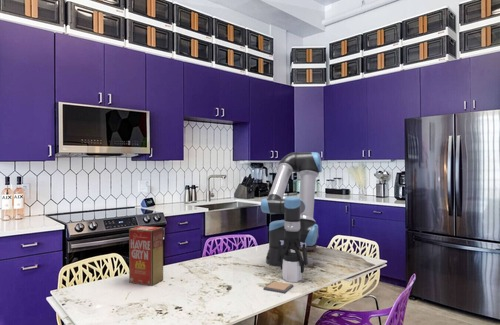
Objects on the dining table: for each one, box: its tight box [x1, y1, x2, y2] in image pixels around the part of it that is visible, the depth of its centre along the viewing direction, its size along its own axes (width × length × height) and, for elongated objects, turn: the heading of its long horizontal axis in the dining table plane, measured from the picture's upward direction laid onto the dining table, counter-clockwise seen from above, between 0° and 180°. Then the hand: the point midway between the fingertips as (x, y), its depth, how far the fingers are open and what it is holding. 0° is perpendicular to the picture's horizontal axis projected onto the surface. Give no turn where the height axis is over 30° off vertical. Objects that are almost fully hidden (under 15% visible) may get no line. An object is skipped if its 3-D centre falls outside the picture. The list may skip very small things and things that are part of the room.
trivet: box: [263, 281, 294, 294], centre depth 158 cm, size 10×10×1 cm
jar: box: [282, 251, 303, 283], centre depth 170 cm, size 9×8×12 cm
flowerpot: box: [299, 233, 319, 253], centre depth 228 cm, size 14×15×20 cm
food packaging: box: [128, 225, 164, 287], centre depth 167 cm, size 13×9×25 cm
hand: (292, 277), depth 170 cm, fingers closed on jar, 8 cm apart
